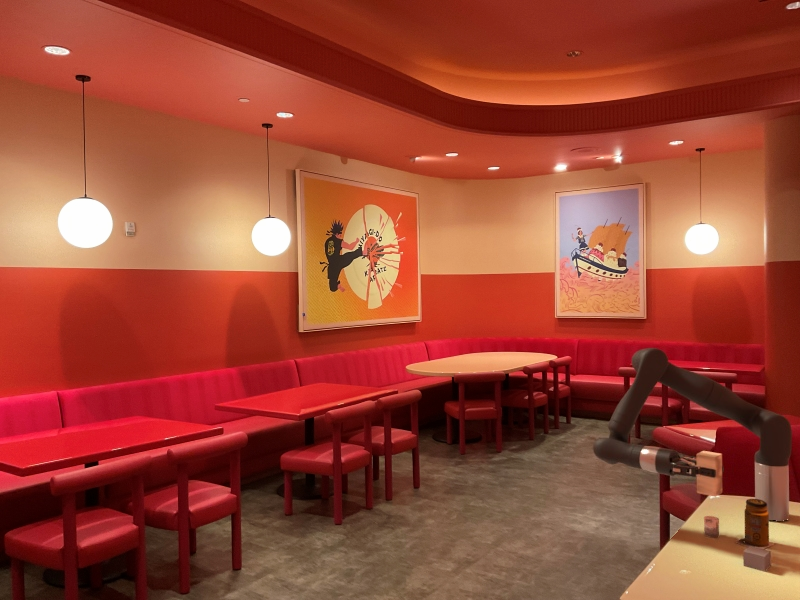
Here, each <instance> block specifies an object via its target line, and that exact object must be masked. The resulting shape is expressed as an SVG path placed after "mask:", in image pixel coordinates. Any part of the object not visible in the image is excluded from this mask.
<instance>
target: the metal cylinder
mask: <svg viewBox="0 0 800 600" xmlns="http://www.w3.org/2000/svg"><path fill="white" fill-rule="evenodd" d="M703 531H704V532H703V535H704V536H705V537H708V538H712V539H713V538H714V539H717V538H719V537H720V518H719V517H716V516H713V515H706V516H704V517H703Z"/></svg>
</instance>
